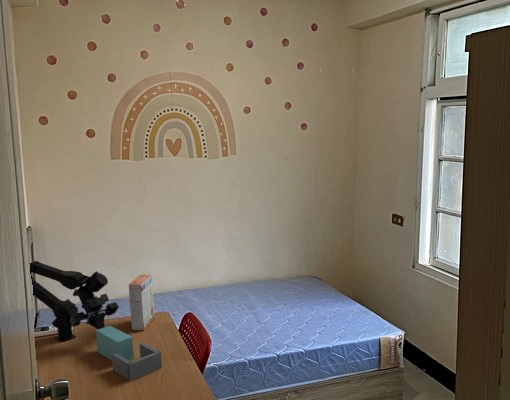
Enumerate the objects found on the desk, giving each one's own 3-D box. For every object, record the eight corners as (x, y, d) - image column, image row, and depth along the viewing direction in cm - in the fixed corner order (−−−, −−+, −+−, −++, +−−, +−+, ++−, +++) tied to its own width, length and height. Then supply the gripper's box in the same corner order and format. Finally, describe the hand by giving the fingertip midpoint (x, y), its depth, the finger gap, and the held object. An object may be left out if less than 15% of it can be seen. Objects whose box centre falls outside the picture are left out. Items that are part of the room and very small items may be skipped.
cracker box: (142, 318, 228) (140, 273, 225) (155, 318, 227) (152, 274, 224) (130, 330, 214) (127, 283, 211) (144, 331, 213) (141, 284, 210)
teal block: (97, 352, 195) (96, 330, 193) (111, 347, 199) (109, 325, 197) (119, 365, 184) (118, 342, 182) (133, 359, 188) (132, 336, 187)
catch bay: (112, 369, 180) (111, 354, 179) (143, 357, 189) (143, 342, 188) (130, 381, 172) (129, 364, 171) (161, 367, 181) (161, 352, 180)
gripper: (71, 294, 191) (87, 329, 185) (115, 283, 204) (131, 315, 198) (63, 309, 198) (79, 343, 192) (106, 297, 211) (121, 328, 205)
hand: (103, 332), depth 196 cm, fingers closed
